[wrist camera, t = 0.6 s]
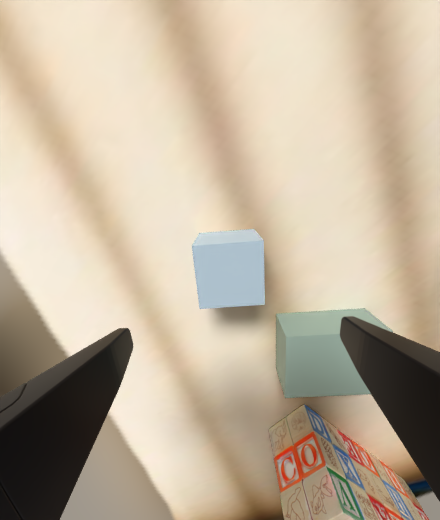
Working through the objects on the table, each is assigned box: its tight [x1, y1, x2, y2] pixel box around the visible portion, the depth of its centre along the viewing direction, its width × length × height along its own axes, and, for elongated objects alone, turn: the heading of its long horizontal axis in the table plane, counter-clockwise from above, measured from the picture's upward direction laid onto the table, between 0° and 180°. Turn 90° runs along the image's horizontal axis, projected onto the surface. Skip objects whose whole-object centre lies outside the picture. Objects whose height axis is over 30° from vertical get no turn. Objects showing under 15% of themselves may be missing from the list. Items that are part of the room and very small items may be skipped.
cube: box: [192, 229, 265, 309], centre depth 18 cm, size 5×5×5 cm
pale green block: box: [276, 308, 393, 398], centre depth 21 cm, size 9×7×4 cm
